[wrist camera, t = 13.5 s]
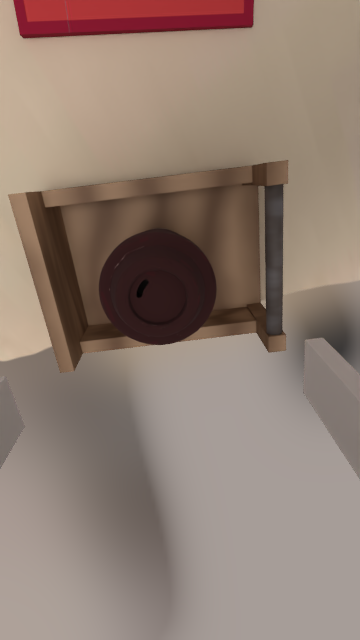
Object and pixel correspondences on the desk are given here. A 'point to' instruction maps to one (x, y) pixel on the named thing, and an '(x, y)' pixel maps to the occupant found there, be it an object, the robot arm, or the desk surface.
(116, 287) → the coffee cup
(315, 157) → the desk surface
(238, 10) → the red board with handle
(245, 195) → the wooden crate
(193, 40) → the desk surface
